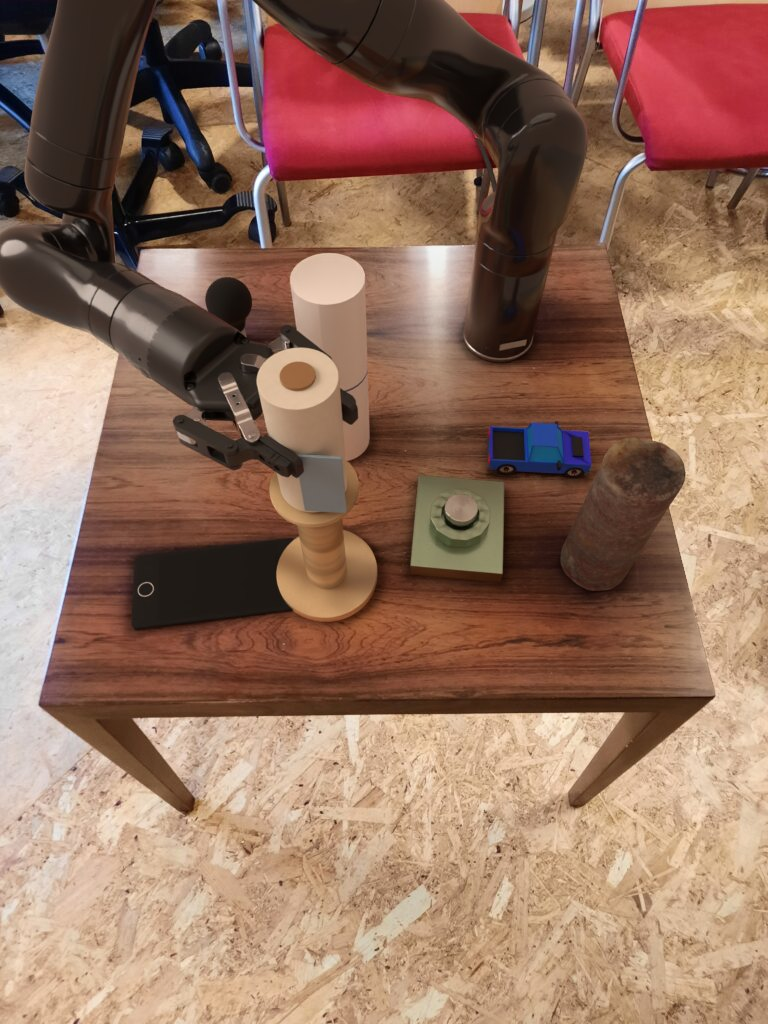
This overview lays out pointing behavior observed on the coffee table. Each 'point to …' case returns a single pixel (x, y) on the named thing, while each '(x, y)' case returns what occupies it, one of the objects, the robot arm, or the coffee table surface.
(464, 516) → the button
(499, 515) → the button box
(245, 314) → the light bulb
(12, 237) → the robot arm
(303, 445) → the towel roll
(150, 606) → the cell phone
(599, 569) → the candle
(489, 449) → the toy car
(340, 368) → the cylindrical container
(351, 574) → the towel holder
